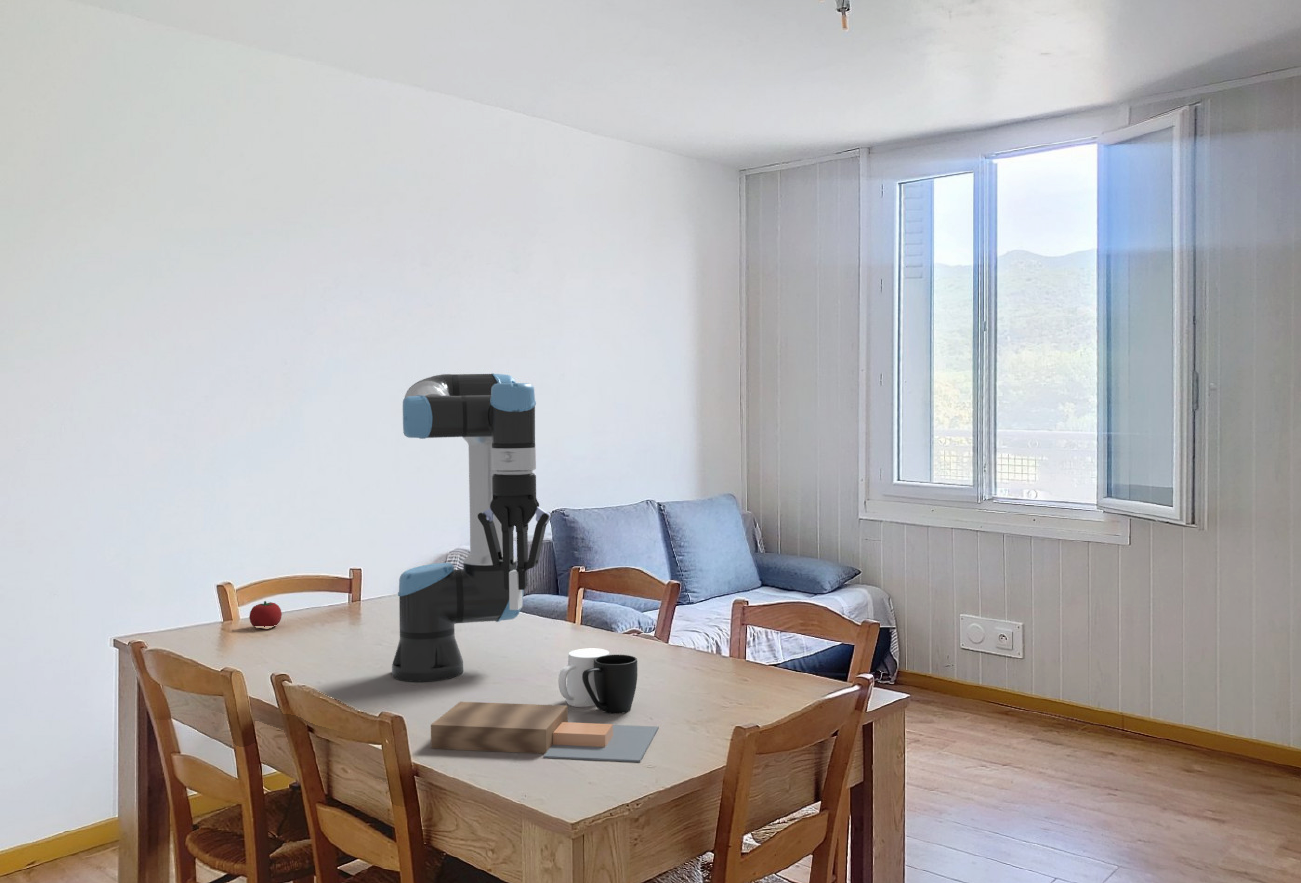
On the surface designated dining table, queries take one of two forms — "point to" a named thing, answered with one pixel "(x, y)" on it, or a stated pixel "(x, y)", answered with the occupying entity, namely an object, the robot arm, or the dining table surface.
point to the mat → (611, 746)
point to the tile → (583, 734)
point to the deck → (498, 727)
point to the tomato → (265, 614)
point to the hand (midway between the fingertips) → (516, 608)
